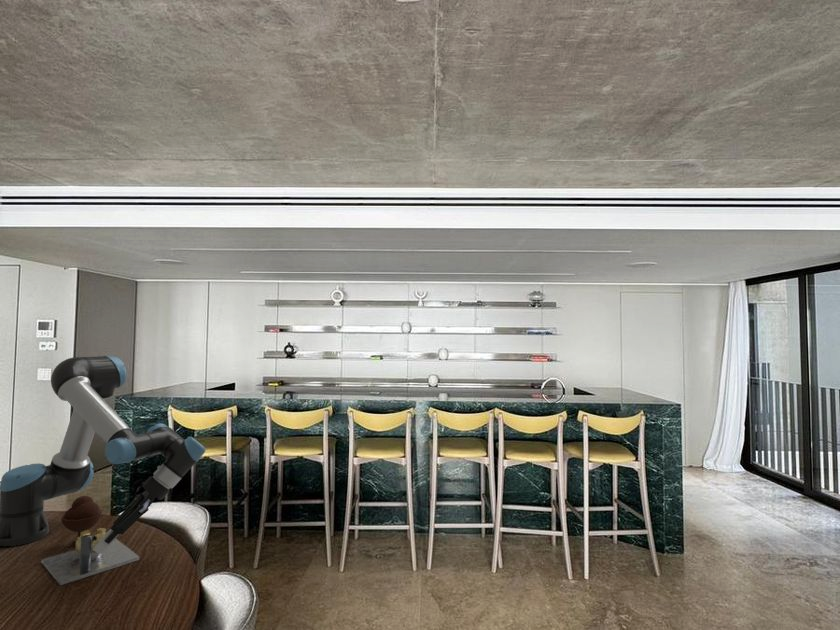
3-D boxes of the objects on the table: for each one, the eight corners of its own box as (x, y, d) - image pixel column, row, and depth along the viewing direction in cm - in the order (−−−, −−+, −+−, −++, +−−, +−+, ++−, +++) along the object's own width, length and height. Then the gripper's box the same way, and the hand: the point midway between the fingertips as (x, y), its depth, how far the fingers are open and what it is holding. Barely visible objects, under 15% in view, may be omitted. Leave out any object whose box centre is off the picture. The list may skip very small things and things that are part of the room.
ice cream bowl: (51, 548, 154) (54, 501, 155) (83, 534, 165) (85, 490, 166) (78, 552, 152) (80, 504, 152) (108, 538, 163) (110, 493, 163)
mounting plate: (41, 562, 145) (42, 549, 145) (115, 541, 160) (116, 529, 160) (60, 585, 132) (61, 570, 132) (139, 559, 147) (139, 546, 148)
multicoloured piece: (77, 554, 148) (79, 522, 148) (108, 549, 151) (109, 518, 152) (67, 575, 135) (68, 540, 135) (100, 570, 138) (102, 535, 139)
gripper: (149, 471, 154) (84, 537, 143) (154, 479, 143) (85, 552, 133) (167, 484, 157) (105, 550, 146) (174, 494, 146) (108, 566, 135)
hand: (96, 551), depth 139 cm, fingers closed
